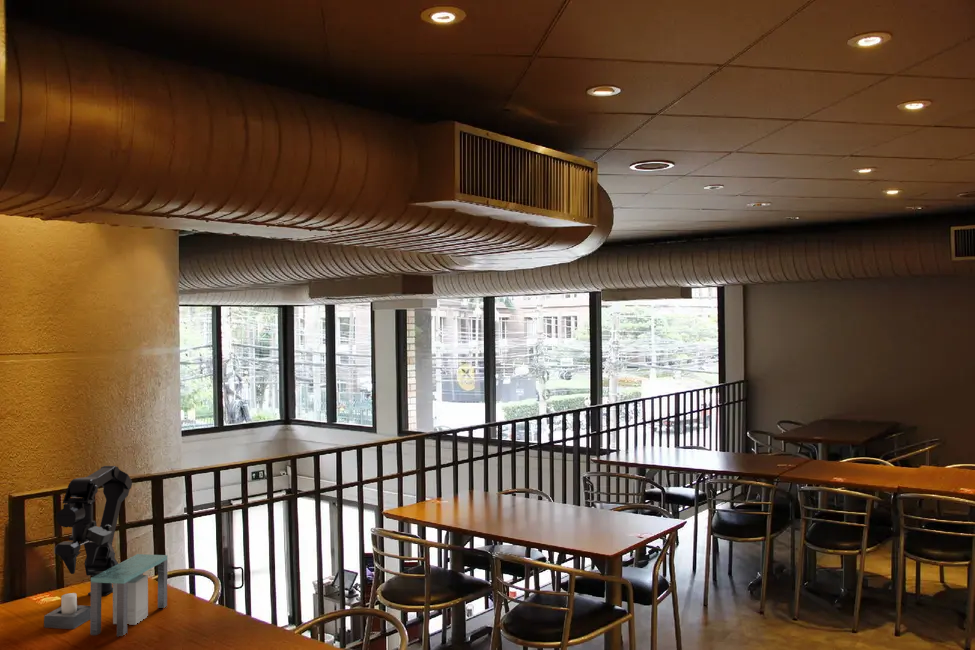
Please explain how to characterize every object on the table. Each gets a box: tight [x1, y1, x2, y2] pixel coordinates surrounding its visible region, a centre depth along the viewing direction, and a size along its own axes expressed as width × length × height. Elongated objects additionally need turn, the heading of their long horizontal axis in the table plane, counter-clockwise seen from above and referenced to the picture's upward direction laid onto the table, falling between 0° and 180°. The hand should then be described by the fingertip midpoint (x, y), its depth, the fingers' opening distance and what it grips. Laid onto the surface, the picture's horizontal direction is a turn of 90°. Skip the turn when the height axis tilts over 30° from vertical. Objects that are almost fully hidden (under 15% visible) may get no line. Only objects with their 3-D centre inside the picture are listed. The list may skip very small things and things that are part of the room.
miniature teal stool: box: [89, 553, 169, 637], centre depth 236 cm, size 24×10×16 cm, turn 174°
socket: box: [43, 604, 91, 630], centre depth 233 cm, size 9×9×4 cm
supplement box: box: [112, 574, 149, 626], centre depth 236 cm, size 7×7×13 cm
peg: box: [61, 592, 78, 614], centre depth 234 cm, size 4×4×8 cm
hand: (81, 569), depth 246 cm, fingers open, 9 cm apart
